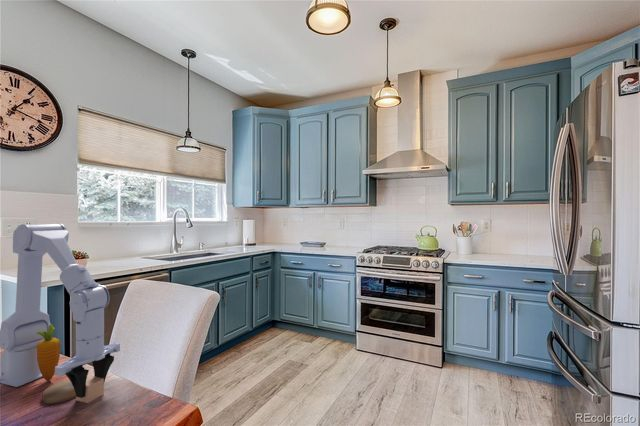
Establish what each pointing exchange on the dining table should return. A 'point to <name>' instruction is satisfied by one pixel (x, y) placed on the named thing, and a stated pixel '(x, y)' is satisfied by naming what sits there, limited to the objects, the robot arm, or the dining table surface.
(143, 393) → the dining table surface
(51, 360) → the carrot
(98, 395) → the tan block
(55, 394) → the olive round dish
